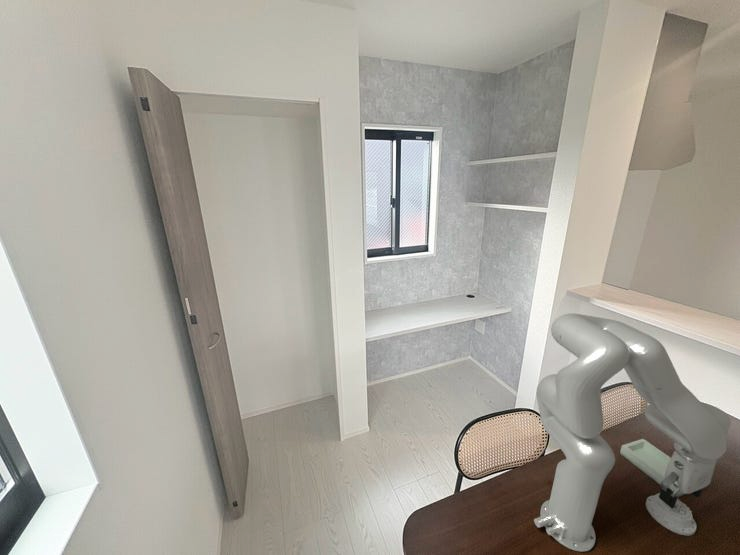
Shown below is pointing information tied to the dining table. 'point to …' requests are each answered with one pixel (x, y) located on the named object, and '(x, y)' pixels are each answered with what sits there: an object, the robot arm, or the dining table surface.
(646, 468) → the tray
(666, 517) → the mechanical component
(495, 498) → the dining table surface
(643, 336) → the robot arm
